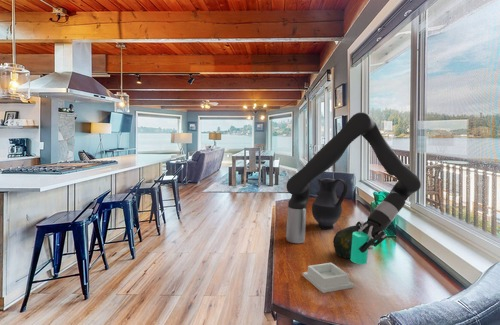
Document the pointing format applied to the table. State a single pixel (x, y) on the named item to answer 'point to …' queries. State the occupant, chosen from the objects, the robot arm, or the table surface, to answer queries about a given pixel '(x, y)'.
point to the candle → (357, 242)
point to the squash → (343, 242)
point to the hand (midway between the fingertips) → (355, 248)
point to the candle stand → (328, 277)
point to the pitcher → (328, 203)
